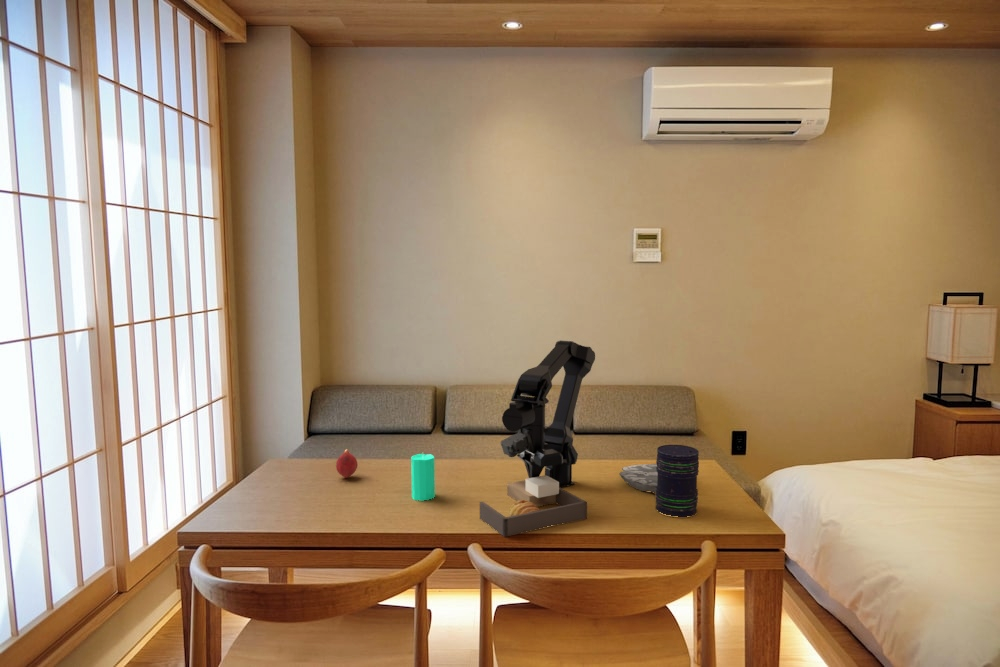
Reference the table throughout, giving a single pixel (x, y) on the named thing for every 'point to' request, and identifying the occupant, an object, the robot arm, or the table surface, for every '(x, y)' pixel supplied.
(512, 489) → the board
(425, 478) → the candle
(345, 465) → the onion
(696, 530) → the table surface
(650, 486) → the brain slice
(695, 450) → the storage jar
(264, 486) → the table surface
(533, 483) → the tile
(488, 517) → the frame
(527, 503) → the pastry
